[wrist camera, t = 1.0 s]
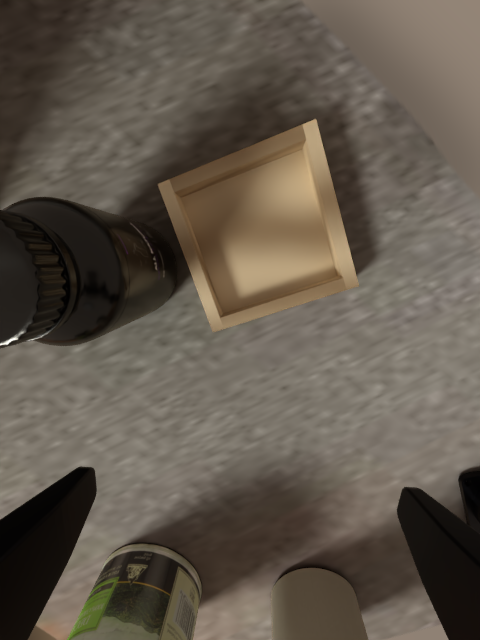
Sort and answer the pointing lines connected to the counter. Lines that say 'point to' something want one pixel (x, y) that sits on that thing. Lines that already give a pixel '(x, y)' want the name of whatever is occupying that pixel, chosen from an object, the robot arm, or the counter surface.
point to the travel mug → (315, 607)
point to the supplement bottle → (77, 272)
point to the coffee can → (141, 597)
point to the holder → (261, 228)
